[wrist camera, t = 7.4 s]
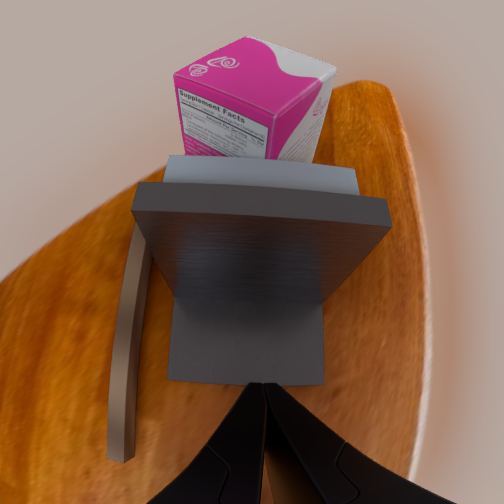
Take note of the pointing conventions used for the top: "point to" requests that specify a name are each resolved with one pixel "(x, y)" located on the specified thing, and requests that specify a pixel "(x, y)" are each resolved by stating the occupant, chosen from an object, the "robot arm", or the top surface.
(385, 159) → the top surface
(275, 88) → the supplement box
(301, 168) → the book
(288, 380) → the bookend
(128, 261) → the rail
